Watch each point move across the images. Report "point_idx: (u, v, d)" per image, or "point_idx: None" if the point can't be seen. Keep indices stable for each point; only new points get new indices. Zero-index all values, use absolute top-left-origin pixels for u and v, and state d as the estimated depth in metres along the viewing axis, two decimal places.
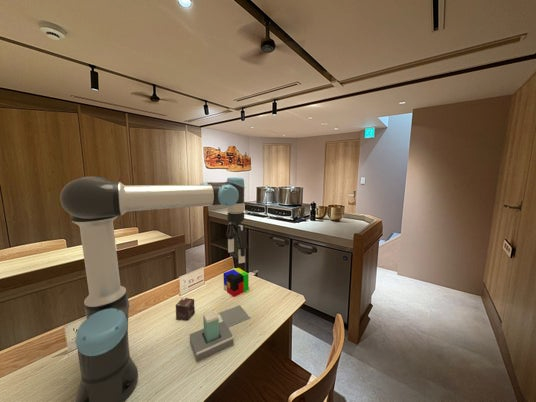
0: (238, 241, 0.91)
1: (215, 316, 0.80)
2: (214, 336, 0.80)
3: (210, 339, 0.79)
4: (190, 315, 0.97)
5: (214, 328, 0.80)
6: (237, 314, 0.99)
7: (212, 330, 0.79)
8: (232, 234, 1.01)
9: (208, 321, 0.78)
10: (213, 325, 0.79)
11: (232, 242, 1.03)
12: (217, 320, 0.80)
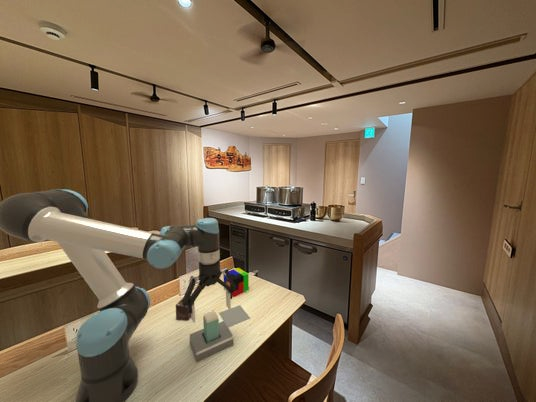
0: None
1: (215, 316, 0.80)
2: (214, 336, 0.80)
3: (210, 339, 0.79)
4: (190, 315, 0.97)
5: (214, 328, 0.80)
6: (237, 314, 0.99)
7: (212, 330, 0.79)
8: (224, 286, 0.82)
9: (208, 321, 0.78)
10: (213, 325, 0.79)
11: (227, 296, 0.83)
12: (217, 320, 0.80)
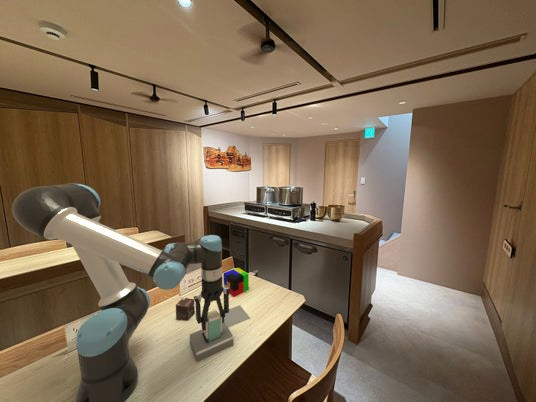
0: None
1: (217, 315, 0.80)
2: (215, 335, 0.80)
3: (212, 338, 0.80)
4: (190, 315, 0.97)
5: (216, 327, 0.80)
6: (237, 314, 0.99)
7: (214, 329, 0.80)
8: (218, 307, 0.82)
9: (210, 320, 0.78)
10: (215, 325, 0.80)
11: None
12: (219, 319, 0.80)
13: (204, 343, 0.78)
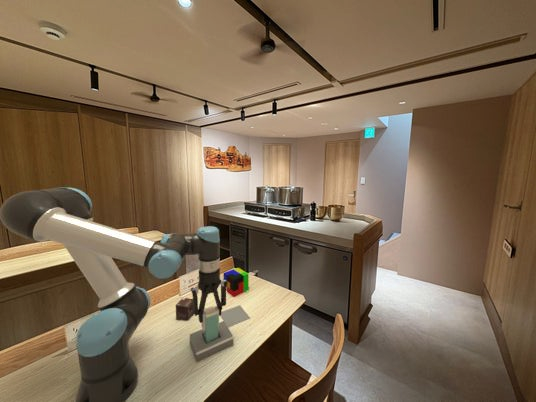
0: None
1: (214, 311, 0.80)
2: (213, 331, 0.80)
3: (209, 334, 0.79)
4: (190, 315, 0.97)
5: (214, 323, 0.79)
6: (237, 314, 0.99)
7: (211, 325, 0.79)
8: (215, 299, 0.81)
9: (207, 316, 0.78)
10: (213, 321, 0.79)
11: None
12: (216, 315, 0.80)
13: (204, 343, 0.78)
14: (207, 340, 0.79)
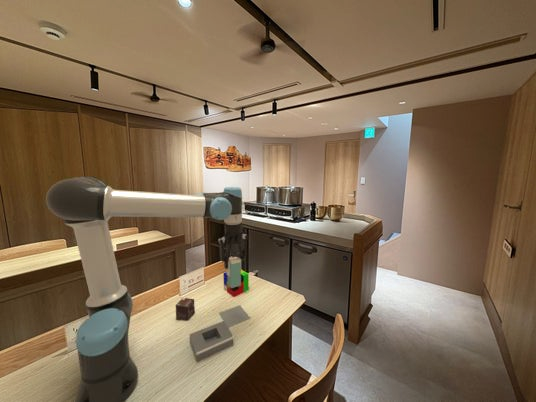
0: None
1: (237, 259, 0.94)
2: (236, 276, 0.93)
3: (234, 279, 0.93)
4: (190, 315, 0.97)
5: (237, 270, 0.93)
6: (237, 314, 0.99)
7: (235, 271, 0.93)
8: (238, 250, 0.95)
9: (232, 262, 0.92)
10: (236, 267, 0.93)
11: None
12: (239, 263, 0.93)
13: (204, 343, 0.78)
14: (231, 284, 0.93)
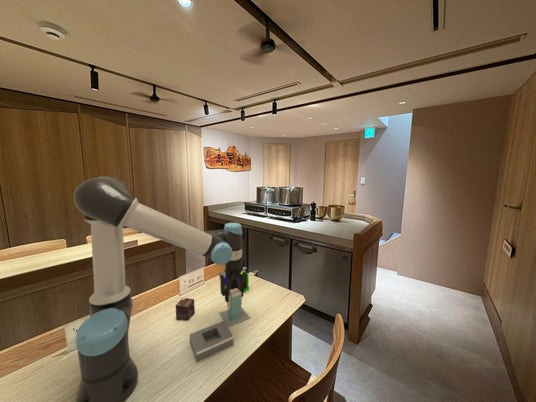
0: None
1: (238, 292, 0.96)
2: (237, 308, 0.96)
3: (234, 311, 0.95)
4: (190, 315, 0.97)
5: (238, 302, 0.95)
6: None
7: (235, 303, 0.95)
8: (238, 283, 0.97)
9: (233, 296, 0.94)
10: (237, 300, 0.95)
11: None
12: (240, 295, 0.96)
13: (204, 343, 0.78)
14: (232, 316, 0.95)
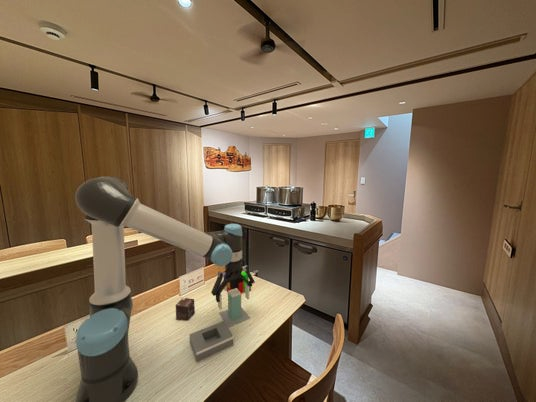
0: None
1: (238, 292, 0.96)
2: (237, 308, 0.96)
3: (234, 311, 0.95)
4: (190, 315, 0.97)
5: (238, 302, 0.95)
6: None
7: (235, 303, 0.95)
8: (244, 280, 0.98)
9: (233, 296, 0.94)
10: (237, 300, 0.95)
11: (247, 289, 0.99)
12: (240, 295, 0.96)
13: (204, 343, 0.78)
14: (232, 316, 0.95)
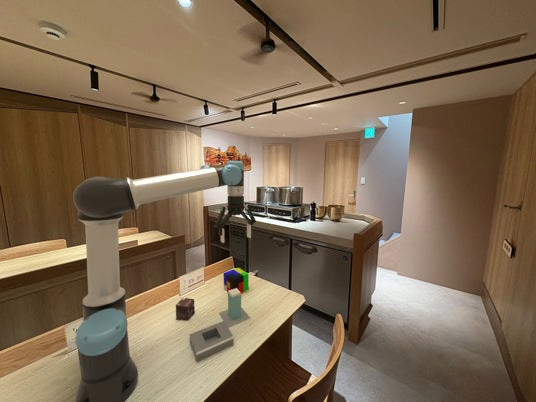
0: None
1: (238, 292, 0.96)
2: (237, 308, 0.96)
3: (234, 311, 0.95)
4: (190, 315, 0.97)
5: (238, 302, 0.95)
6: None
7: (235, 303, 0.95)
8: (246, 219, 1.02)
9: (233, 296, 0.94)
10: (237, 300, 0.95)
11: (248, 228, 1.03)
12: (240, 295, 0.96)
13: (204, 343, 0.78)
14: (232, 316, 0.95)
